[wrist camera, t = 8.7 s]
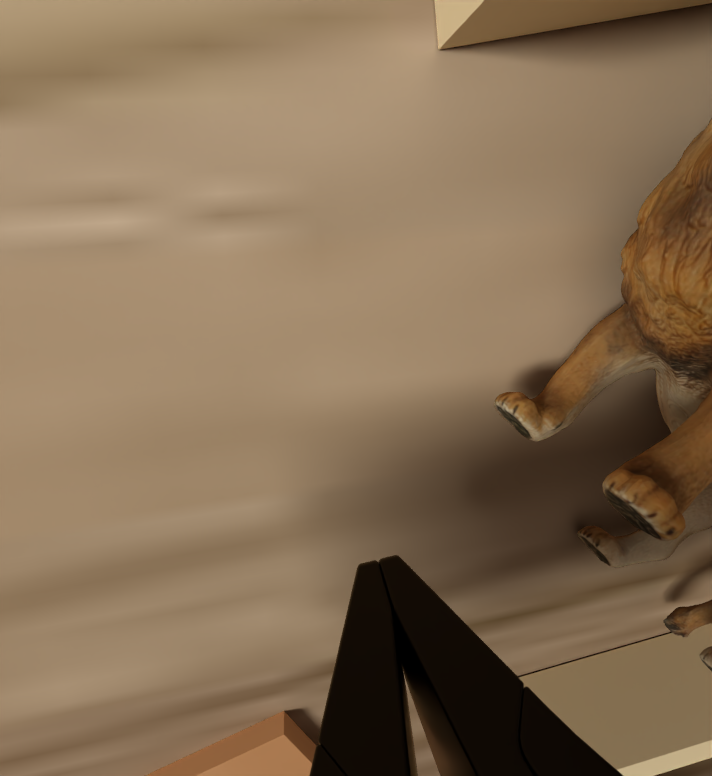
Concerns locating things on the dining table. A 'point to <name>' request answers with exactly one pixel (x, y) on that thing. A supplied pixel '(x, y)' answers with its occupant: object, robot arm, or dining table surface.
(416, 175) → the dining table surface
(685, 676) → the frame
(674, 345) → the lion figurine
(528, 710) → the robot arm
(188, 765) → the terracotta tile
